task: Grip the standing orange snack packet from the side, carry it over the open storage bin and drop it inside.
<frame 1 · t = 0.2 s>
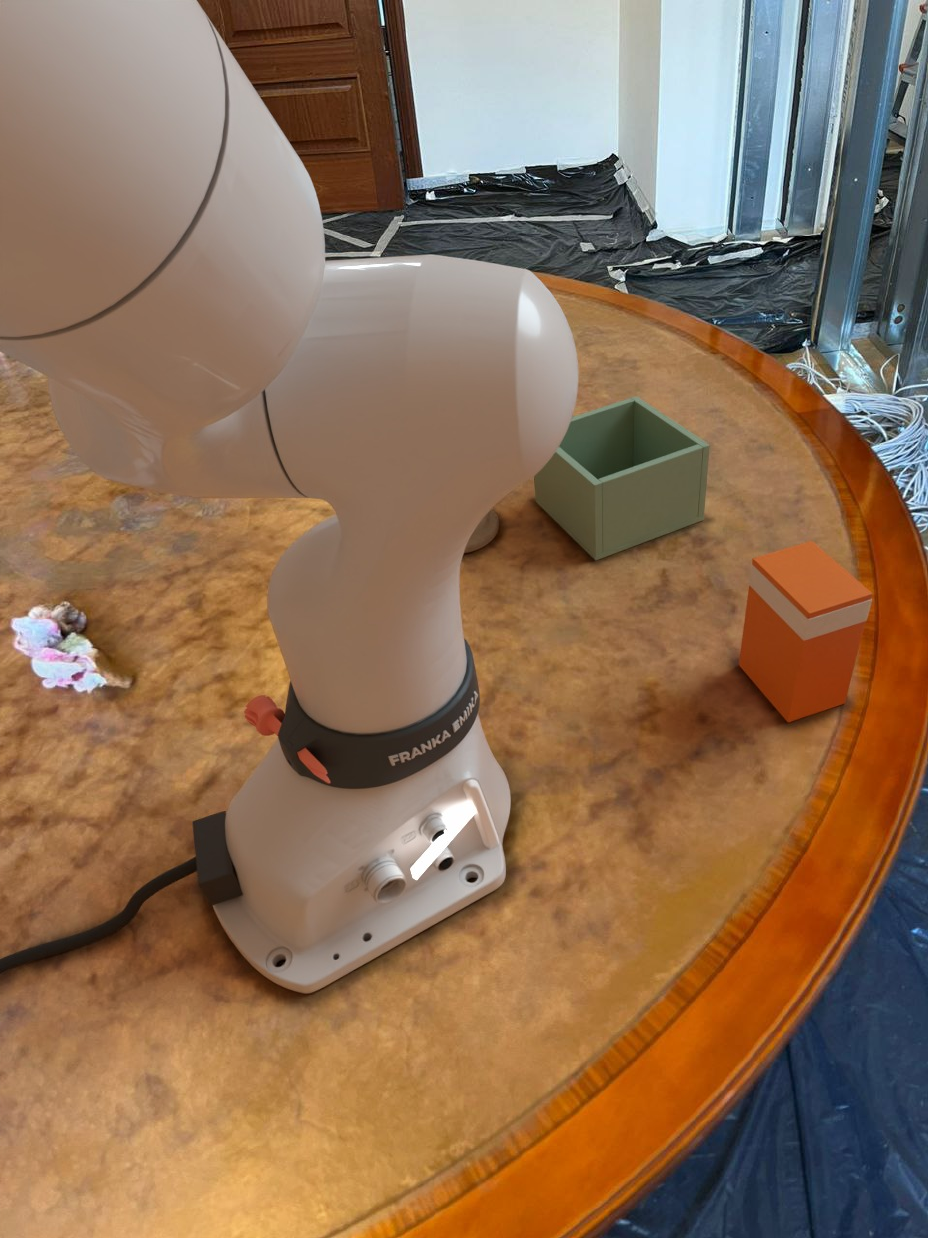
candle holder: (457, 532, 90), on the table
open storage bin: (616, 510, 89), on the table
packet: (790, 683, 68), on the table
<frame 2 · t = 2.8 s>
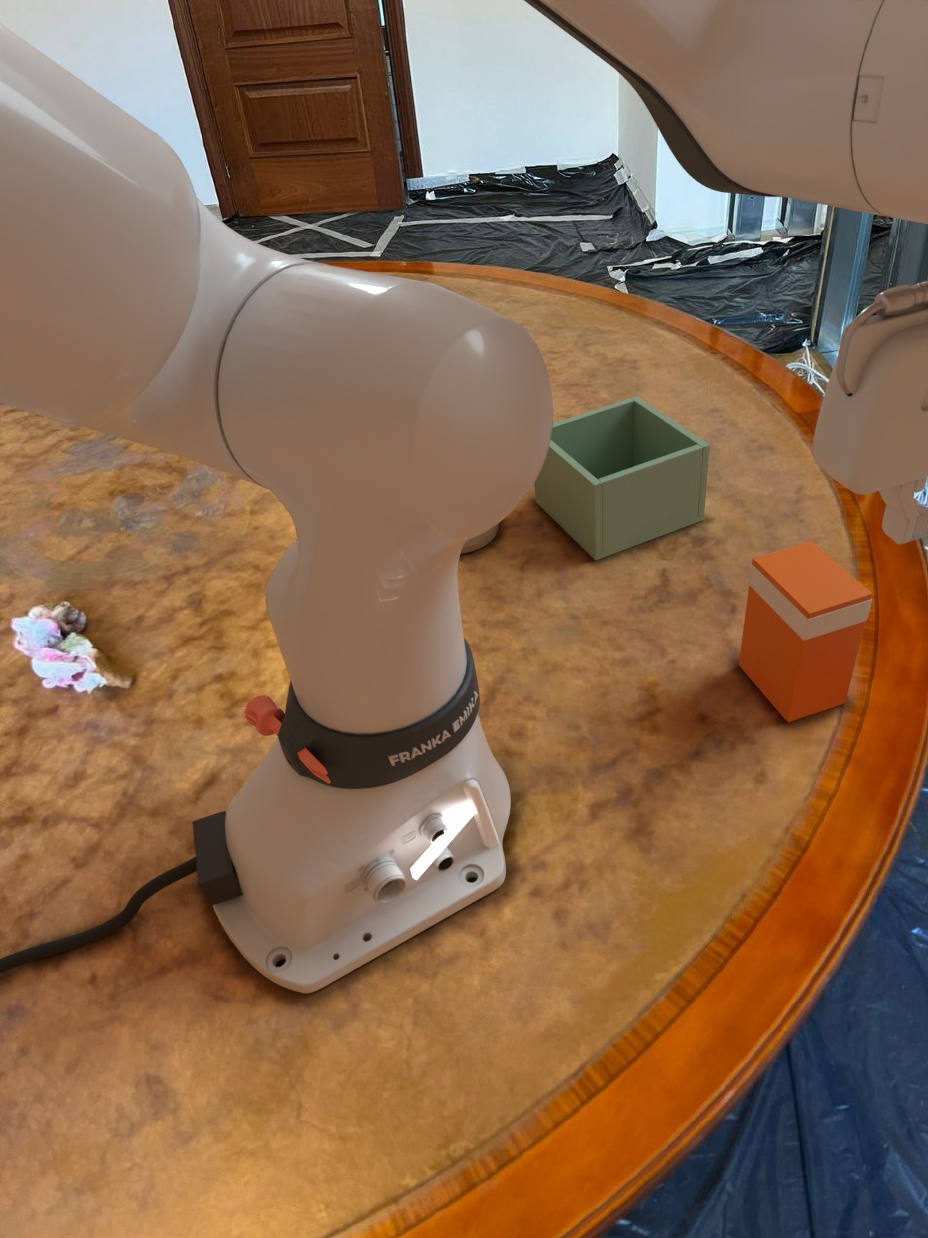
nothing on the table moved.
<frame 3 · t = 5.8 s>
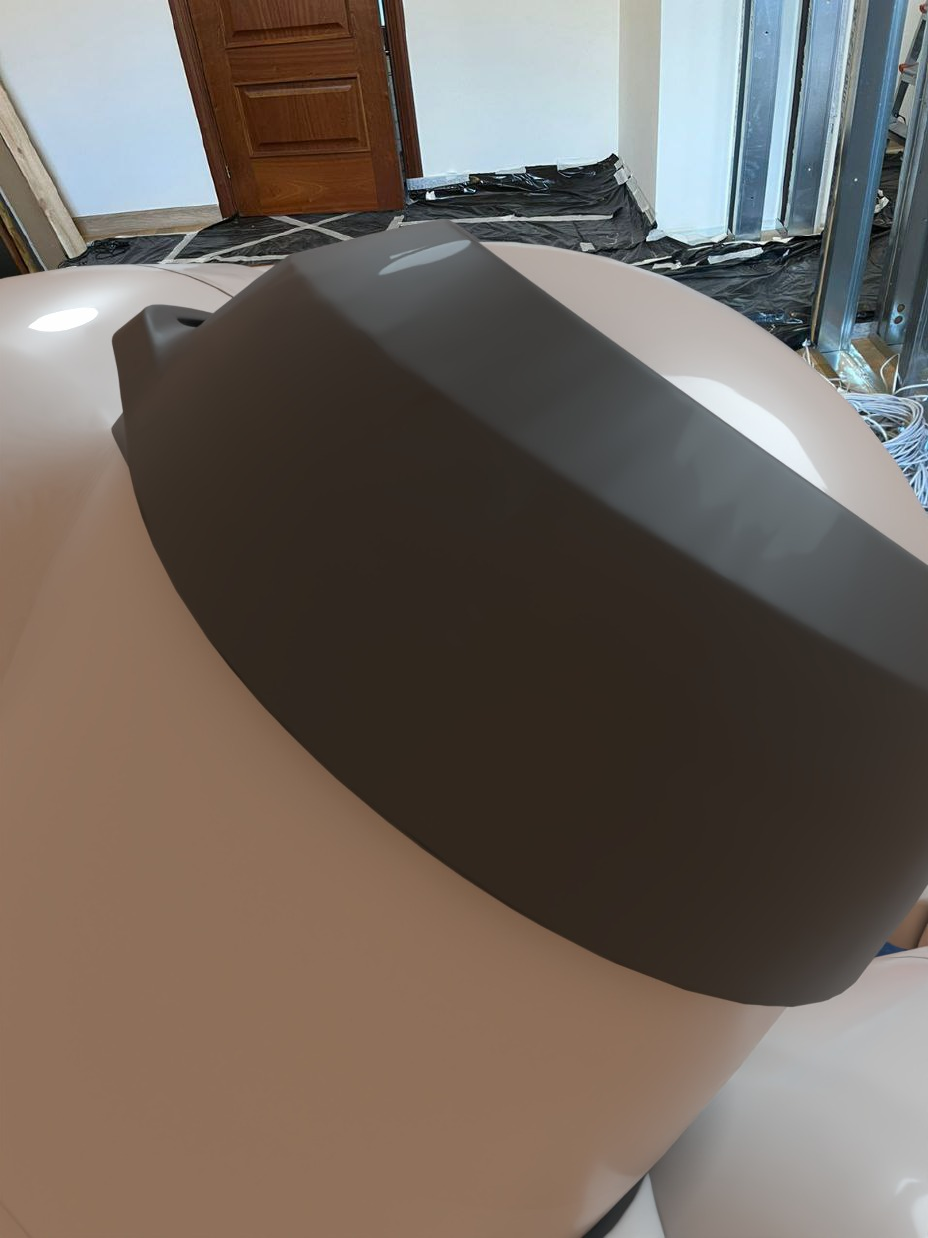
hand: (902, 730, 56), 6 cm above the table, tool horizontal, fingers open, 8 cm apart
nothing on the table moved.
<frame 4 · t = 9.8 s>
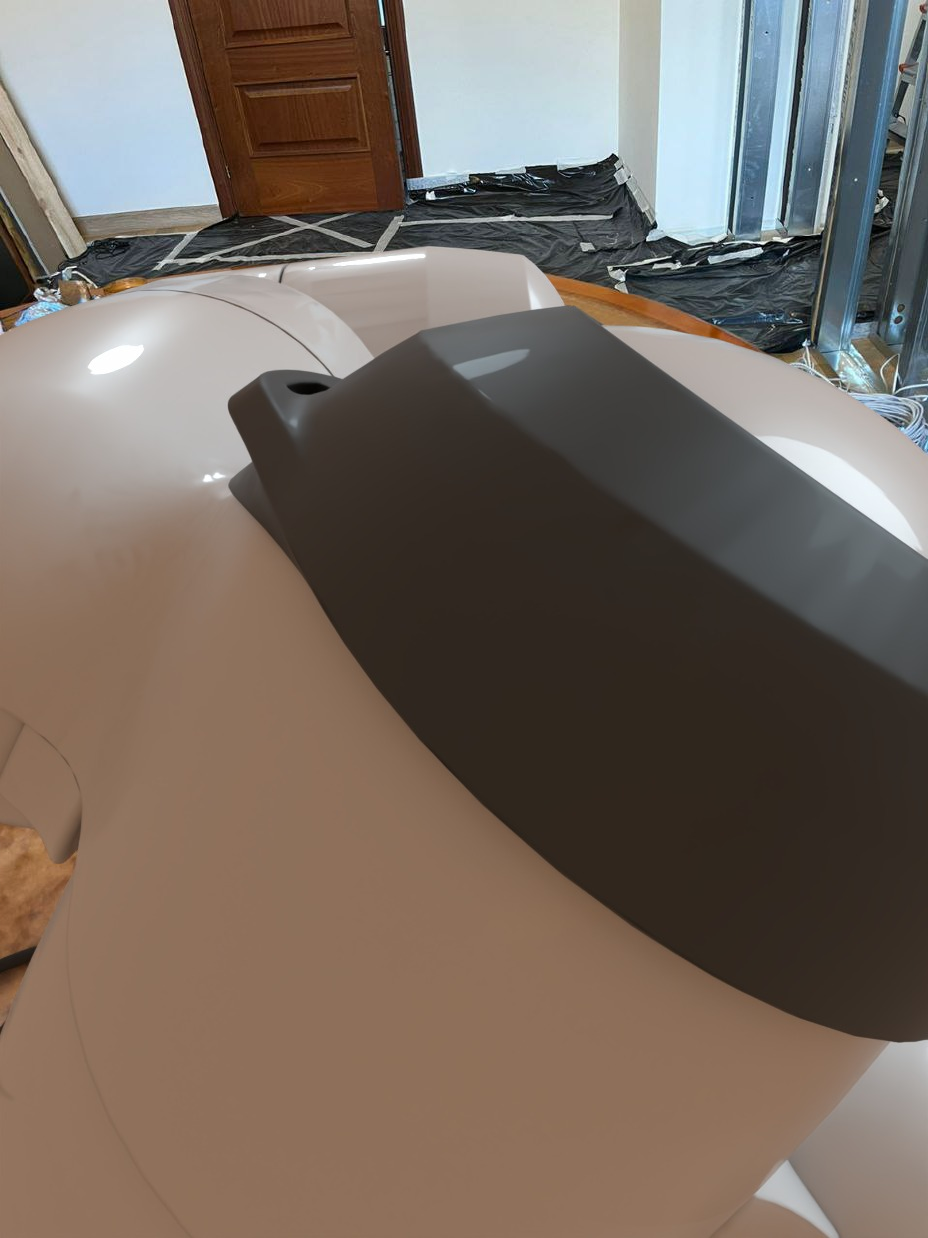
hand: (793, 620, 65), 6 cm above the table, tool horizontal, fingers closed on packet, 5 cm apart
packet: (790, 683, 68), on the table, touching gripper
everything else where it was.
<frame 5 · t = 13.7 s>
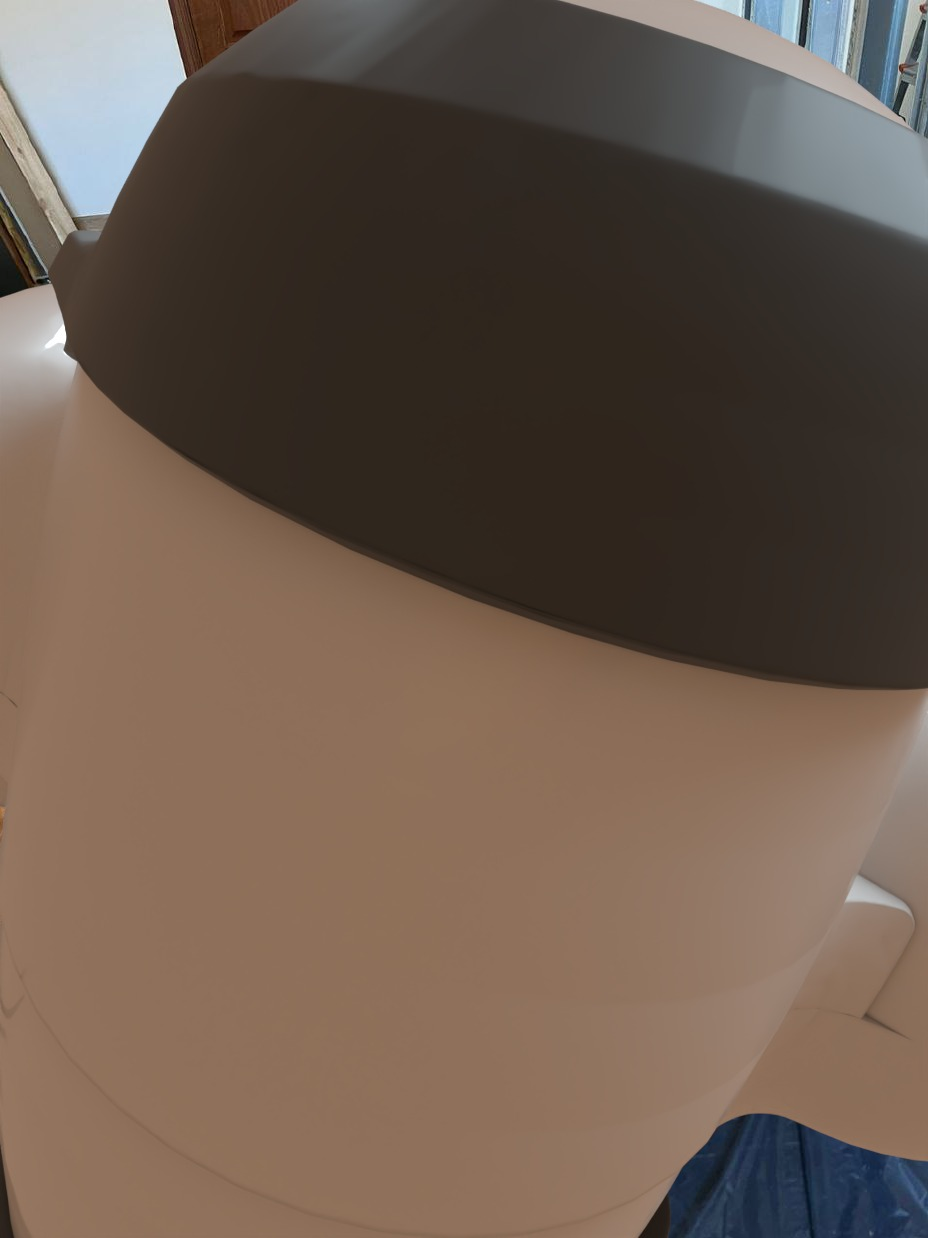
hand: (711, 423, 67), 17 cm above the table, tool horizontal, fingers closed on packet, 5 cm apart
packet: (712, 493, 71), point 11 cm above the table, touching gripper
everything else where it was.
when the fingers open (11 cm above the table, at t = 18.0 s): packet drops 4 cm, resting on open storage bin.
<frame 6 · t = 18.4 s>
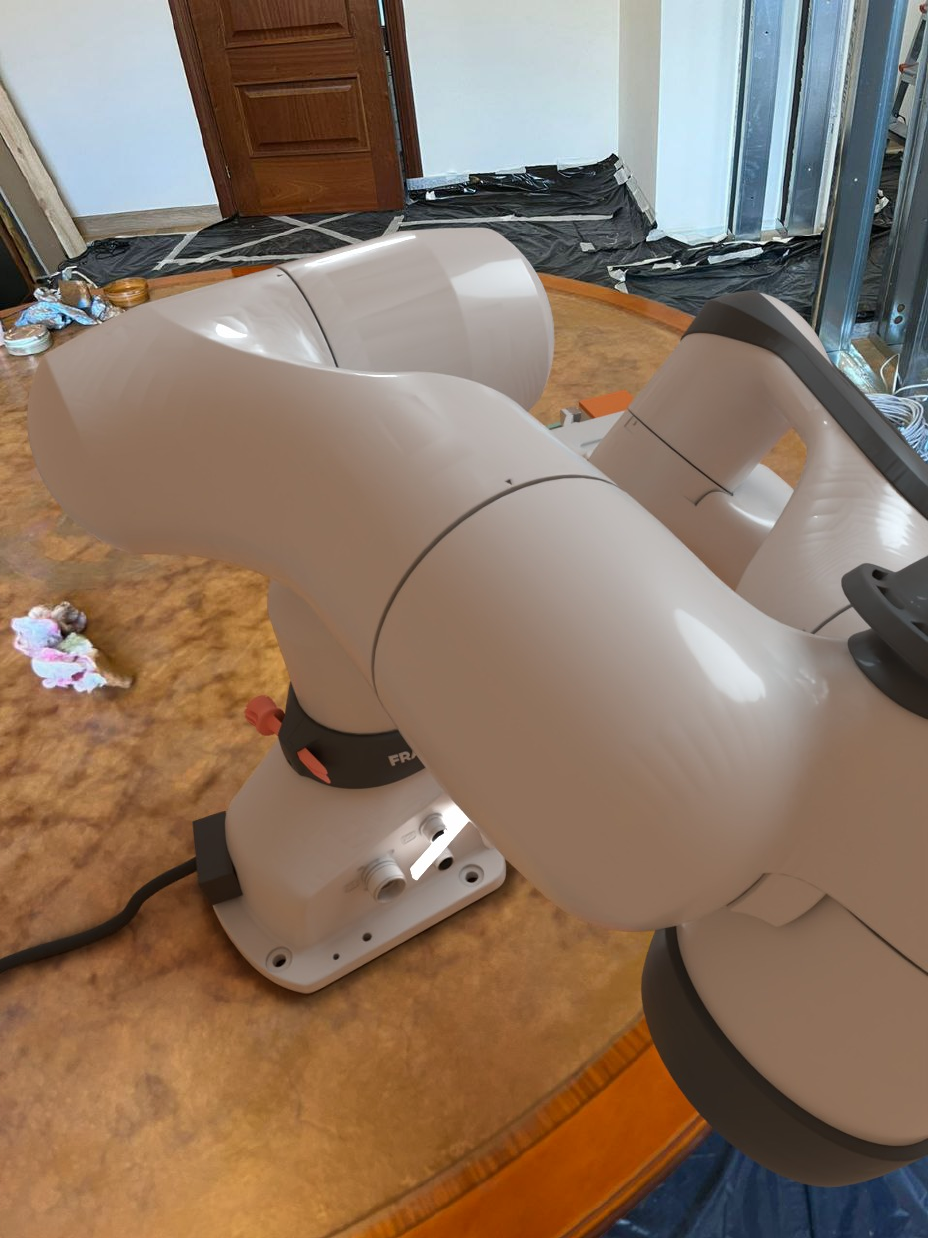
hand: (612, 403, 82), 12 cm above the table, tool horizontal, fingers open, 8 cm apart
packet: (616, 505, 89), point 1 cm above the table, touching open storage bin
everything else where it was.
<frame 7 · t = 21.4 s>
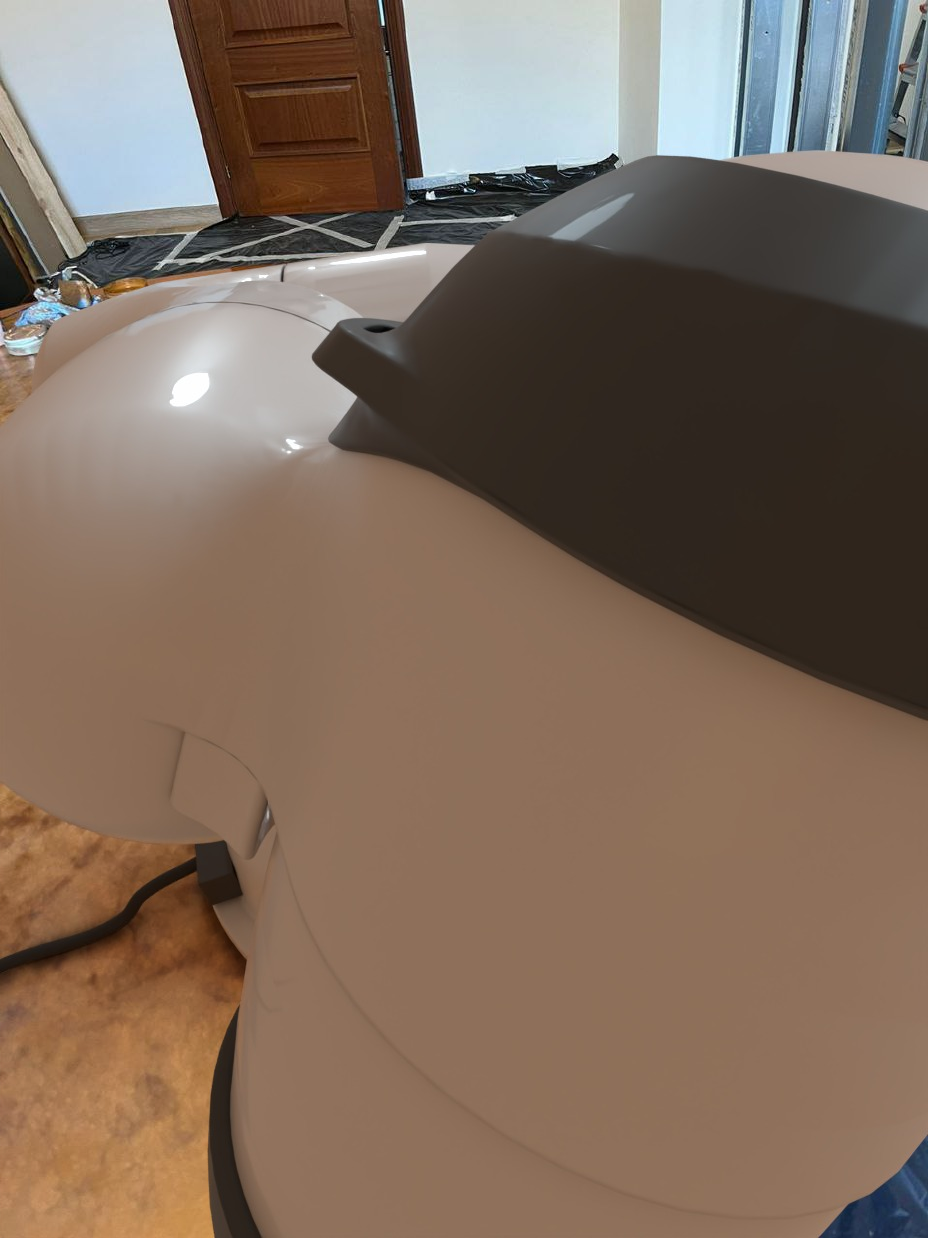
hand: (681, 423, 71), 15 cm above the table, tool horizontal, fingers open, 8 cm apart
nothing on the table moved.
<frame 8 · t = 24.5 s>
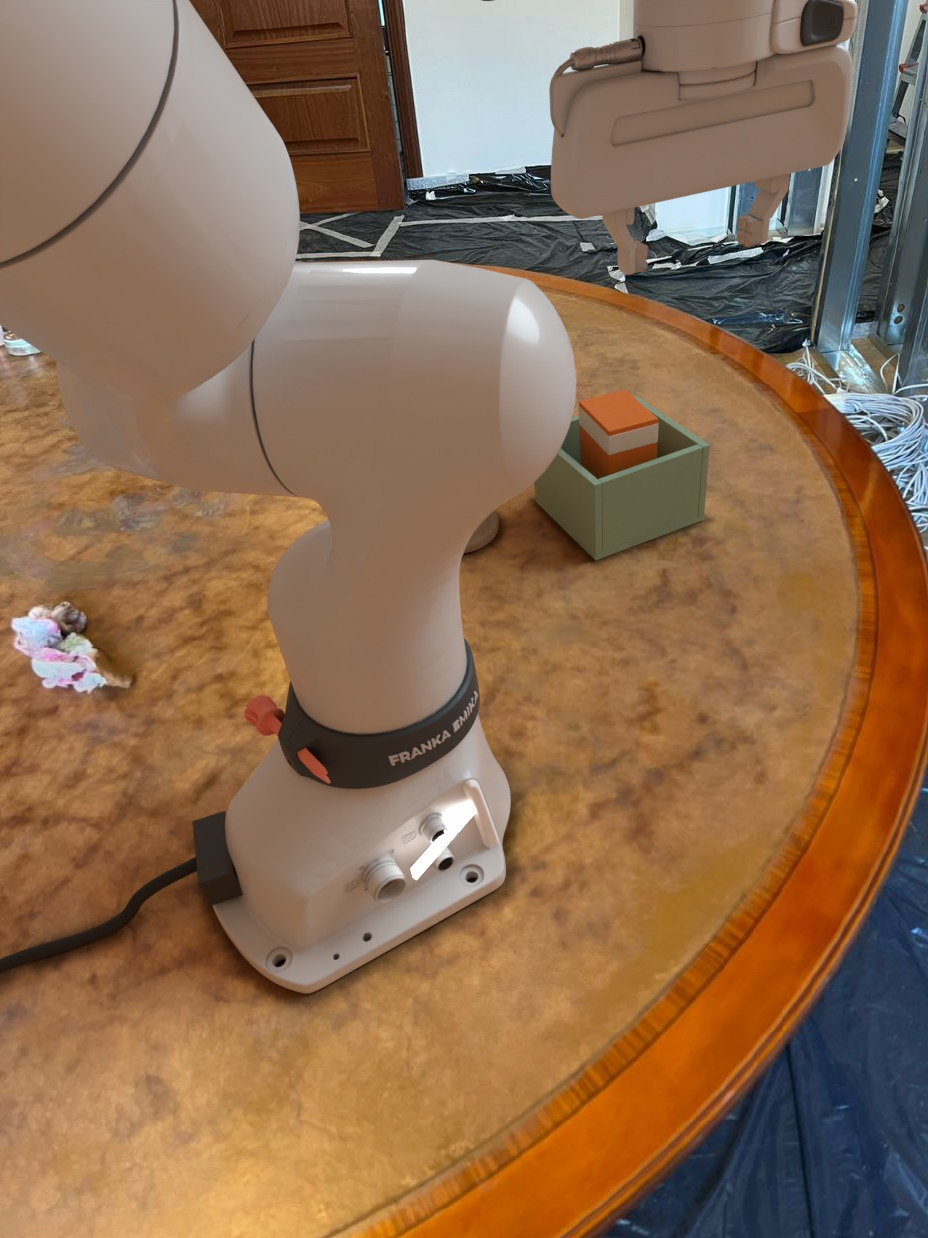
hand: (692, 257, 61), 29 cm above the table, tool pointing down, fingers open, 8 cm apart
nothing on the table moved.
at the end: packet inside the target area in the open storage bin (0.0 cm from its centre), point 0.6 cm above the open storage bin's base; the gripper is holding nothing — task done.
